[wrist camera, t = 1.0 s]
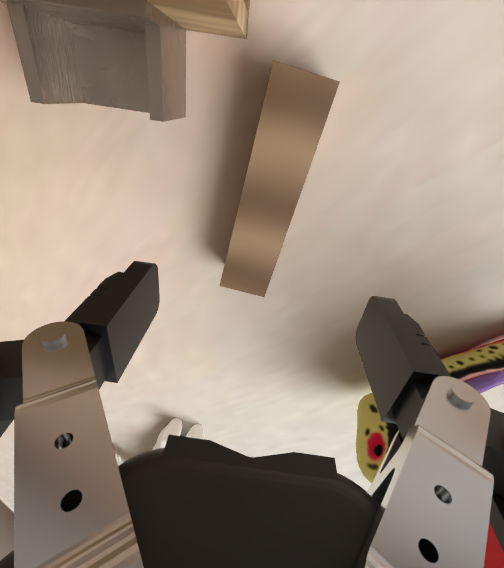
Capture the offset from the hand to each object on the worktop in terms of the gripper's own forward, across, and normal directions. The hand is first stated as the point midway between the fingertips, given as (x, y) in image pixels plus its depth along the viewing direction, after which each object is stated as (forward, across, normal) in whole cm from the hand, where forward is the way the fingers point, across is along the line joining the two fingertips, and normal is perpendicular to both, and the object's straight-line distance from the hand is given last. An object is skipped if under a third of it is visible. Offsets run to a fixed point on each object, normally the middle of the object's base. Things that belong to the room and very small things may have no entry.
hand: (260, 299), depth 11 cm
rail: (+16, 0, 0) cm, 16 cm away
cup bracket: (+16, +11, -7) cm, 20 cm away
